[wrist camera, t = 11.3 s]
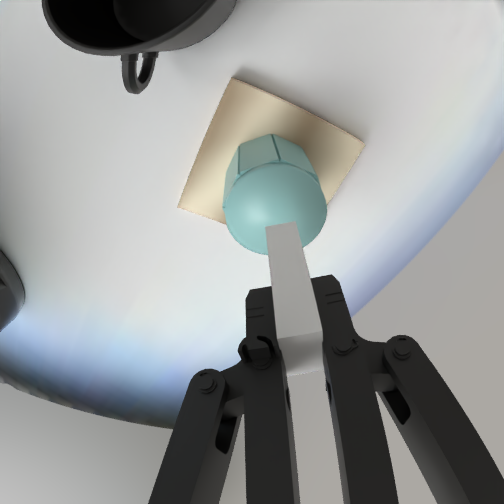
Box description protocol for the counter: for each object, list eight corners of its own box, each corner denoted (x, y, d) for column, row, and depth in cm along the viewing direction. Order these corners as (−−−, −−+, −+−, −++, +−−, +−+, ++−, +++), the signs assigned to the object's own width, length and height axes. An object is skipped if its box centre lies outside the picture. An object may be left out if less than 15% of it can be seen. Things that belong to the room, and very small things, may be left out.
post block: (179, 200, 25) (167, 237, 21) (231, 77, 19) (228, 85, 15) (295, 242, 28) (304, 283, 24) (360, 140, 22) (387, 166, 18)
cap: (245, 217, 25) (247, 266, 20) (216, 152, 21) (208, 189, 17) (316, 195, 24) (335, 239, 19) (295, 125, 20) (312, 153, 15)
